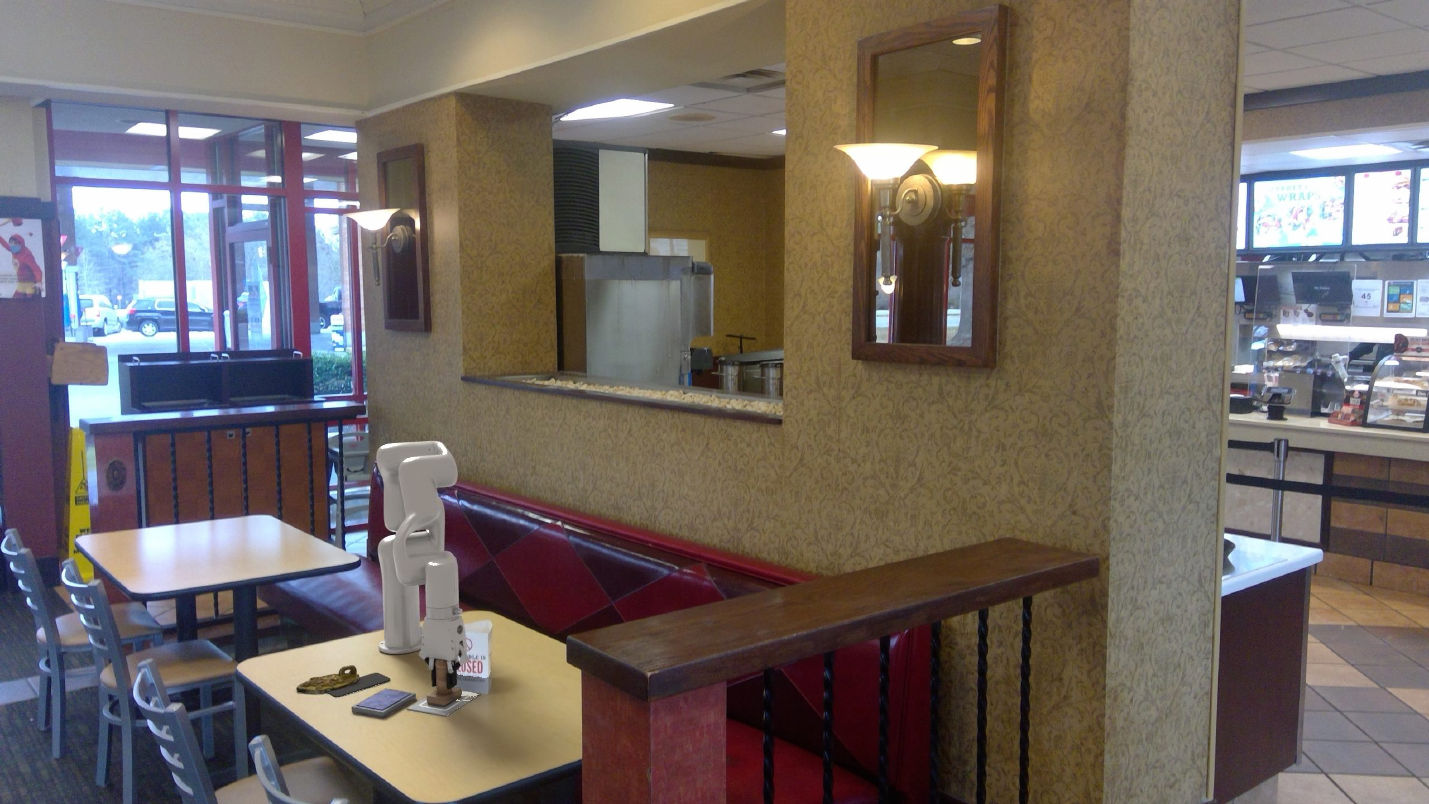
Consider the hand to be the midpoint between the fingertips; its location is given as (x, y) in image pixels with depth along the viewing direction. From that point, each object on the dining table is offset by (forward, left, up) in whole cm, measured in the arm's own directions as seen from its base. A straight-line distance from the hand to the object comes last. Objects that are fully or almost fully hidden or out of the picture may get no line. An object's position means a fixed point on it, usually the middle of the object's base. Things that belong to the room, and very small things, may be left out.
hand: (444, 685), depth 241 cm
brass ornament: (+2, -33, -5) cm, 34 cm away
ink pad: (+7, -12, -4) cm, 14 cm away
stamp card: (0, 0, -4) cm, 4 cm away
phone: (-1, -27, -5) cm, 27 cm away
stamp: (0, 0, -4) cm, 4 cm away
